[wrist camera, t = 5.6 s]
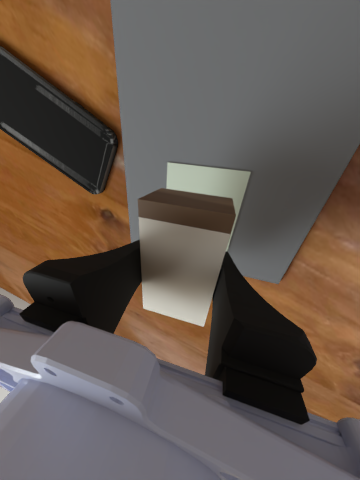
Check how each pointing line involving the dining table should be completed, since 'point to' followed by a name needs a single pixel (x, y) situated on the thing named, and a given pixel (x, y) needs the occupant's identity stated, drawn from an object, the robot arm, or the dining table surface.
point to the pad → (209, 182)
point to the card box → (182, 250)
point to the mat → (242, 108)
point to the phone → (54, 125)
